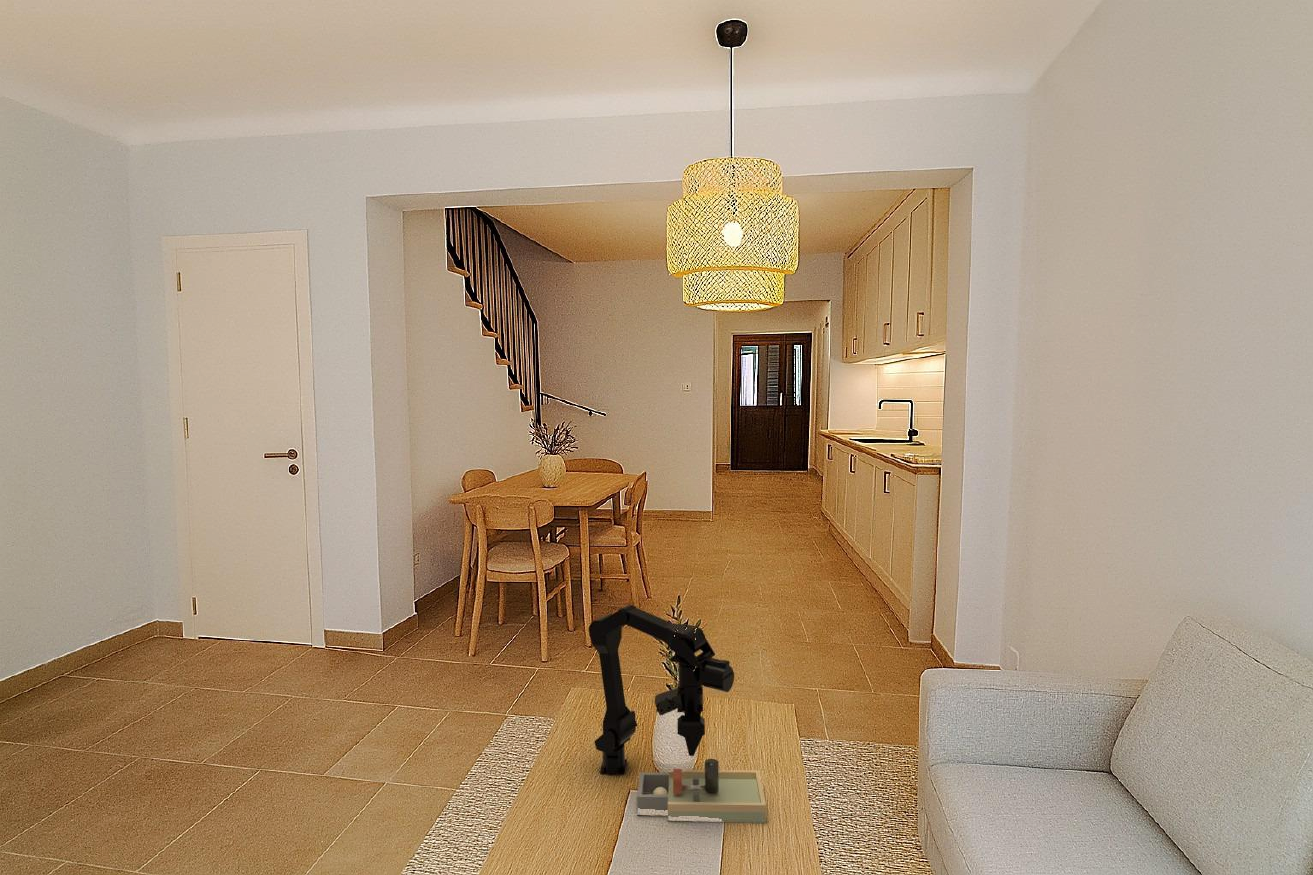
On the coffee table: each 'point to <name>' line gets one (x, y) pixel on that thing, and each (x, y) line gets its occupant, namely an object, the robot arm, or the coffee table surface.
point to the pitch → (721, 797)
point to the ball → (660, 791)
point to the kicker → (709, 787)
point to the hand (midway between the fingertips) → (691, 745)
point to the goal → (649, 784)
